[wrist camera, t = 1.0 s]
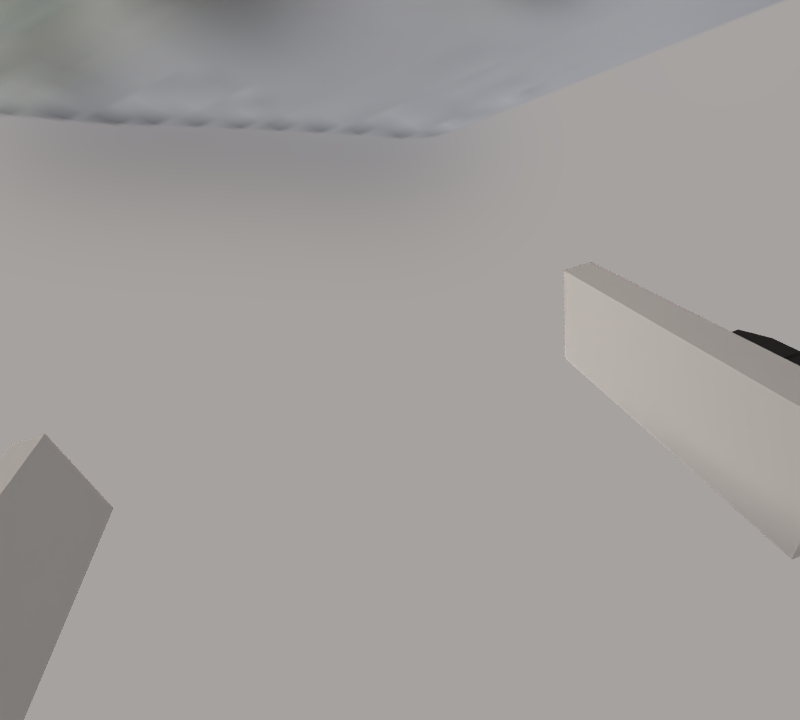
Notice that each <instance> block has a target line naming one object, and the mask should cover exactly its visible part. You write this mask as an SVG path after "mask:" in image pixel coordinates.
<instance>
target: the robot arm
mask: <svg viewBox="0 0 800 720" xmlns="http://www.w3.org/2000/svg"><path fill="white" fill-rule="evenodd" d="M564 316H565V317H564V321H565V323H564V324H565V359H566V360H567V361H569V362H570V363H571V364H572V365H573V366H574V367H575V368H577V369H578V370H579V371H580V372H581V373H582V374H583V375H584V376H586V377H587V378H588V379H589V380H590V381H591V382H592V383H593V384H595V385H596V386H597V387H598V388H599V389H600V390H601V391H603V392H604V393H605V394H606V395H607V396H608V397H609V398H610V399H611V400H613V401H614V402H615V403H616V404H617V405H618V406H619V407H621V408H622V409H623V410H624V411H625V412H626V413H627V414H628V415H630V416H631V417H632V418H633V419H634V420H635V421H636V422H637V423H639V424H640V425H641V426H642V427H643V428H644V429H645V430H647V431H648V432H649V433H650V434H651V435H652V436H653V437H654V438H656V439H657V440H658V441H659V442H660V443H661V444H662V445H663V446H665V447H666V448H667V449H668V450H669V451H670V452H671V453H673V454H674V455H675V456H676V457H677V458H678V459H679V460H680V461H682V462H683V463H684V464H685V465H686V466H687V467H689V469H691V470H692V471H693V472H694V473H695V474H696V475H697V476H698V477H700V478H701V479H702V480H703V481H704V482H705V483H706V484H707V485H709V486H710V487H711V488H712V489H713V490H714V491H715V492H716V493H718V494H719V495H720V496H721V497H722V498H723V499H724V500H725V501H727V502H728V503H729V504H730V505H731V506H732V507H733V508H735V509H736V510H737V511H738V512H739V513H740V514H741V515H742V516H744V517H745V518H746V519H747V520H748V521H749V522H750V523H751V524H753V525H754V526H755V527H756V528H757V529H758V530H759V531H760V532H762V533H763V534H764V535H765V536H766V537H767V538H768V539H770V540H771V541H772V542H773V543H774V544H775V545H776V546H777V547H779V548H780V549H781V550H782V551H783V552H784V553H785V554H786V555H788V556H789V557H790V558H791V559H794V558H796V557H799V556H800V351H798V350H796V349H794V348H792V347H789V346H787V345H785V344H783V343H781V342H779V341H777V340H775V339H772V338H769V337H765V336H761V335H757V334H753V333H749V332H745V331H741V330H736V331H733V332H730V331H728V330H726V329H724V328H722V327H720V326H718V325H716V324H714V323H712V322H710V321H708V320H706V319H704V318H702V317H700V316H698V315H696V314H694V313H692V312H690V311H688V310H686V309H684V308H682V307H680V306H678V305H676V304H674V303H672V302H670V301H668V300H666V299H664V298H662V297H660V296H658V295H656V294H654V293H652V292H650V291H648V290H646V289H644V288H642V287H640V286H638V285H636V284H634V283H632V282H630V281H628V280H626V279H624V278H622V277H620V276H618V275H616V274H614V273H612V272H610V271H608V270H606V269H604V268H602V267H600V266H598V265H596V264H594V263H592V262H590V263H587V264H583V265H580V266H577V267H573V268H570V269H567V270H564ZM112 510H113V507H112V506H111V505H110V504H109V503H108V502H107V501H106V500H105V499H104V498H103V496H102V495H101V494H100V493H99V492H98V491H97V490H96V489H95V488H94V487H93V486H92V484H91V483H90V482H89V481H88V480H87V479H86V478H85V477H84V476H83V475H82V474H81V472H80V471H79V470H78V469H77V468H76V467H75V466H74V465H73V464H72V463H71V461H70V460H69V459H68V458H67V457H66V456H65V455H64V454H63V453H62V452H61V451H60V449H59V448H58V447H57V446H56V445H55V444H54V443H53V442H52V441H51V440H50V439H49V437H48V436H47V435H46V434H42V435H38V436H35V437H32V438H29V439H26V440H23V441H19V442H16V443H13V444H11V445H10V446H9V447H8V449H7V450H6V451H5V452H4V454H3V455H2V456H1V457H0V720H24V718H25V715H26V713H27V711H28V708H29V706H30V704H31V701H32V699H33V696H34V694H35V692H36V690H37V687H38V685H39V682H40V680H41V678H42V675H43V673H44V671H45V668H46V666H47V664H48V661H49V659H50V656H51V654H52V652H53V649H54V647H55V644H56V642H57V640H58V638H59V635H60V633H61V630H62V628H63V626H64V623H65V621H66V619H67V616H68V614H69V612H70V609H71V606H72V604H73V602H74V600H75V597H76V595H77V593H78V590H79V588H80V586H81V583H82V581H83V578H84V576H85V574H86V571H87V569H88V567H89V564H90V562H91V560H92V557H93V555H94V552H95V550H96V548H97V545H98V543H99V540H100V538H101V536H102V534H103V531H104V529H105V526H106V524H107V522H108V519H109V517H110V514H111V512H112Z"/></svg>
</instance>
